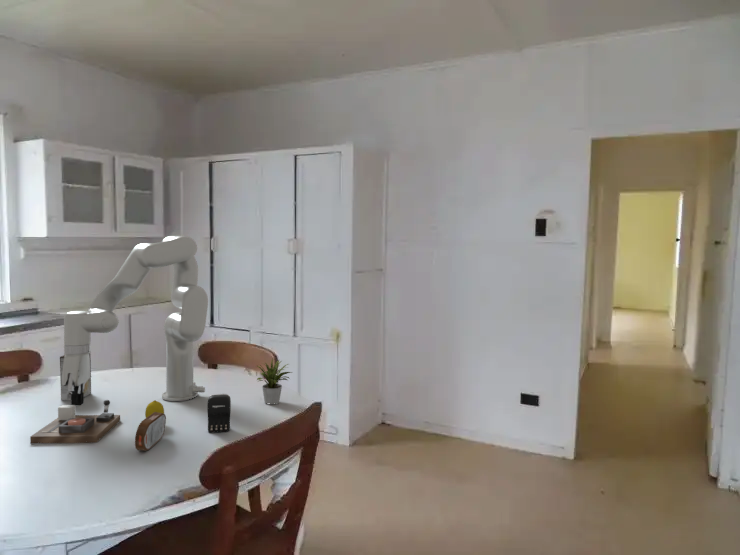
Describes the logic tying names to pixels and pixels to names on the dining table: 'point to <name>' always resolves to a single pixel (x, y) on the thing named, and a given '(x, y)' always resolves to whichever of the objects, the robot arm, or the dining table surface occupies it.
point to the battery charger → (219, 412)
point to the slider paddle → (66, 412)
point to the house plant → (272, 382)
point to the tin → (150, 431)
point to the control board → (76, 430)
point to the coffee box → (64, 389)
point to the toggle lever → (106, 406)
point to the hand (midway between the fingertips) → (77, 404)
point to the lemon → (154, 408)
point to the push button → (77, 421)
